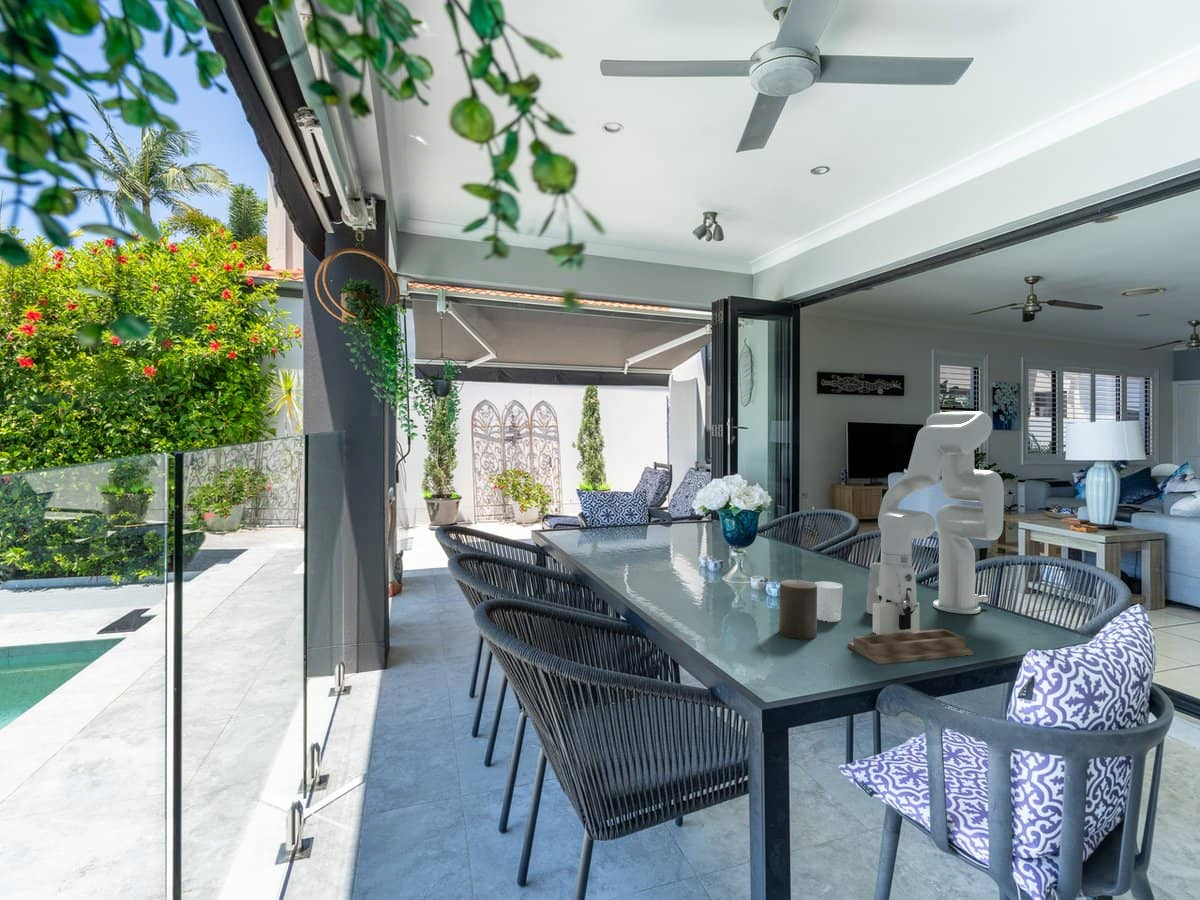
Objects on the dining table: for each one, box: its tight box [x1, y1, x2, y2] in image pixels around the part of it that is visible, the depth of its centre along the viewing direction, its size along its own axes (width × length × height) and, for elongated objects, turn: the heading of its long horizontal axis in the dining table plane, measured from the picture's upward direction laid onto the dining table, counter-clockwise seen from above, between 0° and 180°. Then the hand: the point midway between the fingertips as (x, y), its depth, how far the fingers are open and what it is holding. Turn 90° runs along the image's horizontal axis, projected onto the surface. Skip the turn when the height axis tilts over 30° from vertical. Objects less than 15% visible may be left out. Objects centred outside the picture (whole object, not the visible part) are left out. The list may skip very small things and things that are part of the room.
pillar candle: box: [778, 579, 818, 640], centre depth 168 cm, size 10×10×15 cm
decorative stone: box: [866, 562, 881, 615], centre depth 184 cm, size 11×6×15 cm, turn 71°
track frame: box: [847, 628, 974, 665], centre depth 154 cm, size 26×12×3 cm, turn 101°
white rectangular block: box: [872, 601, 920, 635], centre depth 168 cm, size 12×3×8 cm, turn 101°
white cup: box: [814, 580, 844, 623], centre depth 180 cm, size 8×8×10 cm
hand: (895, 624), depth 168 cm, fingers open, 6 cm apart
